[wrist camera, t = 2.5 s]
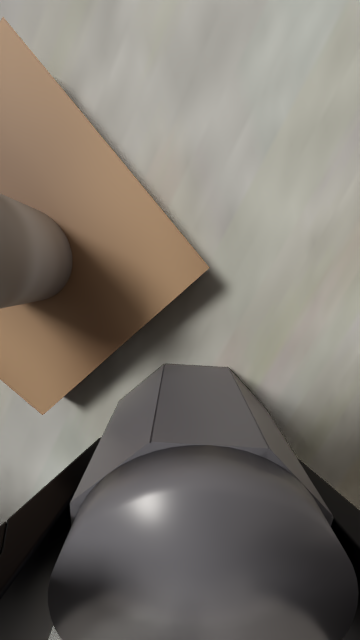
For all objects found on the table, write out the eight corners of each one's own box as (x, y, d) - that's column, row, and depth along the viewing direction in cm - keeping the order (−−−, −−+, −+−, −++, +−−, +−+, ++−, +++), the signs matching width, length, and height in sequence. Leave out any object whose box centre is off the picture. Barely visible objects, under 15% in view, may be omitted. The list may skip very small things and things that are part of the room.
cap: (183, 509, 10) (186, 727, 5) (88, 426, 9) (-17, 602, 4) (291, 437, 9) (415, 622, 4) (199, 334, 8) (227, 426, 3)
